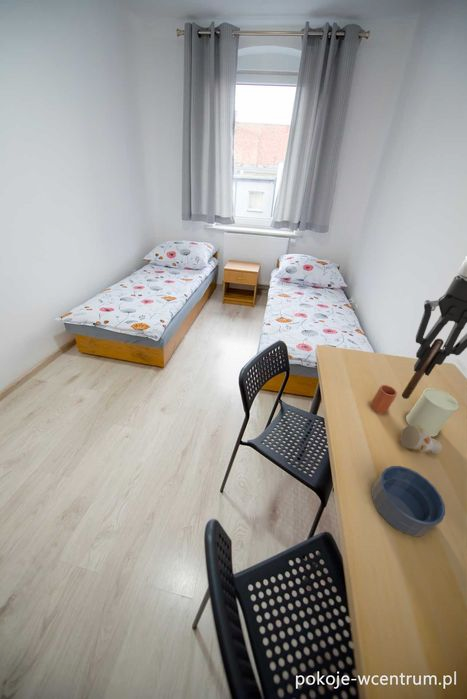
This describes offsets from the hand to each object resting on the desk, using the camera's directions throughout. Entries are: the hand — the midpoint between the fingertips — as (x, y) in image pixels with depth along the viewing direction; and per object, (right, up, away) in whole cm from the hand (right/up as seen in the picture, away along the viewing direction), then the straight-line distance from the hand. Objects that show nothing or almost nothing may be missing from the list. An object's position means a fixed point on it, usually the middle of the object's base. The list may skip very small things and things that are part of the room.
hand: (421, 370), depth 69 cm
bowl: (-8, -32, -4) cm, 33 cm away
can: (+13, -19, +19) cm, 29 cm away
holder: (+1, -14, +23) cm, 27 cm away
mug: (+6, -23, +11) cm, 26 cm away
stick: (-1, -8, +5) cm, 9 cm away
